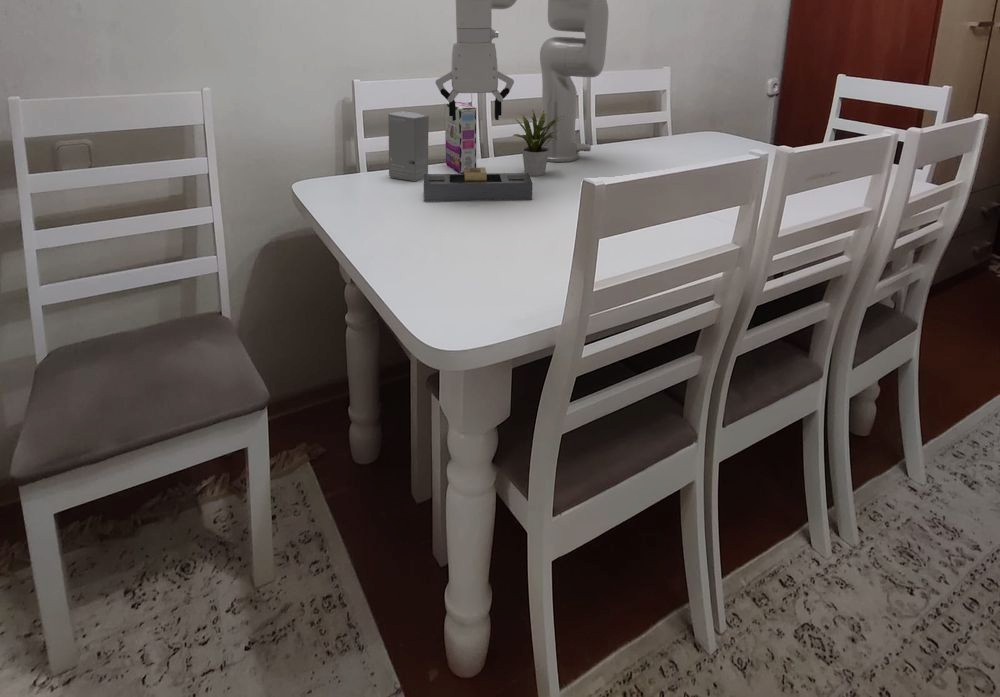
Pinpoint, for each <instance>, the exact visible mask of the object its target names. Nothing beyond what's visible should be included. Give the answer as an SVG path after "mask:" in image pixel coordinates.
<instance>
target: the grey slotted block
mask: <svg viewBox="0 0 1000 697" xmlns="http://www.w3.org/2000/svg"><path fill="white" fill-rule="evenodd" d="M486 173H487V182H465V183H464V173H428V174H424V178H423V201H424V202H466V201H467V202H470V201H471V202H473V201H477V202H479V201H480V202H481V201H532V200H533V180H532V178H531V176H530V175H529V174H528V173H525V172H502V173H499V172H498V173H495V172H493V173H492V172H489V173H488V172H486Z"/></svg>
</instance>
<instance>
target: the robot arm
mask: <svg viewBox="0 0 1000 697" xmlns="http://www.w3.org/2000/svg"><path fill="white" fill-rule="evenodd" d="M516 2H517V0H455V24H456V26H455V27H456V29H455V30H456V42H454V43H453V46H452V51H451V52H452V53H451V71H449V72H448V73H446V74H445V75H443V76H441V77H438V78H436V80H435V85H436V87H437V88H438V90H439V92H440V94H441V95H442V96H443V98H445V100H447V103H449V116H452V118H453V121H455V120H456V108H455V102H456V100H455V99H456V97H457V96H458V95H459V94H490V93H492V95H493V96H494V97H495V100H494V120H495V121H499V119H500V118H499V117H500V116H502V102H503V100H504V99H505V98H506V97H507V96H508V95H509V93H510V92H511V89H512V88H513V86H514V83H515V80H514V79H513V78H511V77H509V76H507V74H504V73H502V72H500V71H498V69H499V68H498V59H497V58H498V57H497V47H496V44H495V43H494V42H492V41H493V40H494V39H495V38H496V39H498V38H499V30H495V29H493V27H492V10H507V9H510V8H511V7H513V6H514V5H515V4H516ZM547 22H548V25H549V27H550V28H551V29H553V30H555V31H557V32H558V31H559V32H568V33H569V32H570V33H584V34H585V37H583V38H582V37H571V36H568V37H567V36H555V37H553V36H552V37H550V38H548V39H546V40H544V41H543V43H542V45H541V47H540V50H539V62H540V68H541V78H542V80H541V81H542V82H541V83H542V84H541V85H542V88H541V89H542V92H541V94H542V97H541V113H542V112H543V110H544V114H546V116H545V123H544V125H543V127H545V126H547V125H548V124H549V123H550V122H551V121H552V120H554V119H556V118H558V117H561V118H559V119H560V121H558V120H555V121H557V122H555V123H554V124H557V125H555V126H551V127H550V128H549V130H548V131H547V133H552V132H554V131H557V132H554V133H553V134H551V135H553V136H552V137H555V138H557V139H558V140H557V139H554V138H552V139H551V138H548V139H547V140H546V141H545V142H544V144H543V145H542V147H544V148H548V149H549V154H548V159H547V162H551V163H552V162H553V163H564V162H565V163H566V162H567V163H568V162H573V161H577V160H578V159H579V158H580V152H591V150H592V145H591V143H590V144H587V143H577V141H576V140H575V138H576V137H575V136H576V119H577V118H576V116H577V101H578V94H577V93H578V92H577V88H576V85H575V84H574V81H573V79H572V78H571V77H577V78H596V77H598V76H599V75H601V73H602V71H603V69H604V65H605V61H606V51H607V42H608V40H607V39H608V28H609V26H608V25H609V4H608V1H607V0H547ZM499 80H500V81H502V82H504V83H505V86H504V88H503V89H502V90H500V91H499V90H498V87H499ZM448 81H451V87H452V90H451V91H450V92H449V91H448V90H447V89H446V88H445V86H444V84H445V83H447V82H448ZM563 116H564V117H563ZM543 127H542V128H543ZM546 130H547V129H546ZM546 130H545V132H546ZM542 132H543V130H542V131H541V133H542ZM545 132H544V133H545ZM541 133H540V134H541ZM547 135H549V134H546V135H545V136H547ZM545 136H544V137H545ZM556 136H558V137H556ZM541 139H542V138H541ZM550 139H551V140H550ZM549 140H550V141H549ZM548 141H549V142H548ZM547 142H548V143H547Z"/></svg>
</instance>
